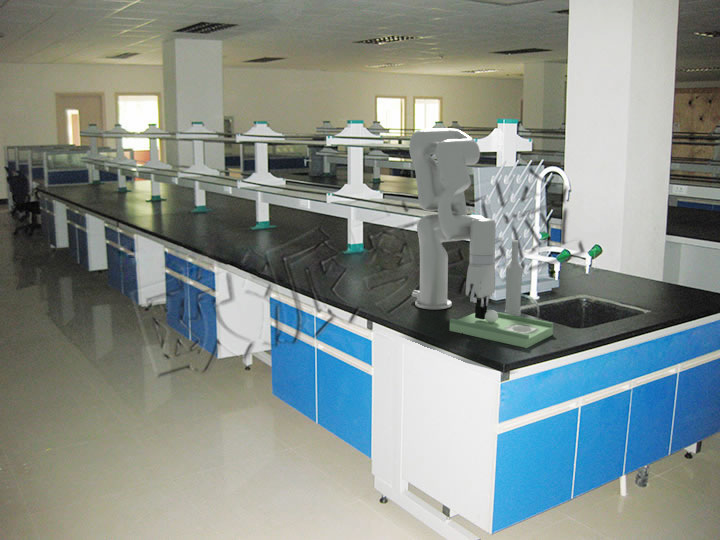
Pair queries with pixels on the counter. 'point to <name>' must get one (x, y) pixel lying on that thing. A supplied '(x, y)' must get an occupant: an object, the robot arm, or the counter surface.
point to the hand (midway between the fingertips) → (480, 318)
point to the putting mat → (504, 329)
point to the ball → (491, 316)
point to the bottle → (513, 283)
